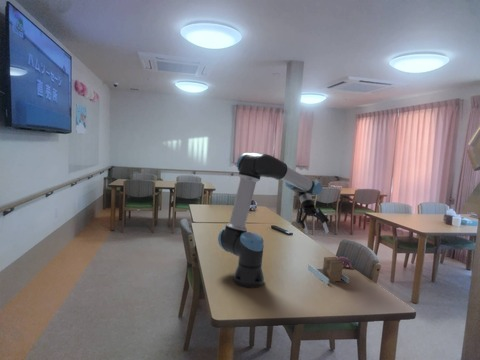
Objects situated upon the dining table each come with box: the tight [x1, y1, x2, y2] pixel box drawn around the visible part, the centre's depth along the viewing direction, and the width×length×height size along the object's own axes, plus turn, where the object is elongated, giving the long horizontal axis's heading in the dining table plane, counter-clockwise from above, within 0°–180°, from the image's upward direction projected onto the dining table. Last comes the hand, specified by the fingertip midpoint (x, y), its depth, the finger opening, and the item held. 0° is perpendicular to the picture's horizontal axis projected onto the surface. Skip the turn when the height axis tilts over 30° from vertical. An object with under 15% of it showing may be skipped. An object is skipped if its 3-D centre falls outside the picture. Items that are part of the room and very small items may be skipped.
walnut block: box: [322, 256, 344, 283], centre depth 163 cm, size 7×7×11 cm
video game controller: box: [335, 256, 353, 270], centre depth 183 cm, size 10×5×7 cm, turn 92°
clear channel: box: [307, 263, 350, 285], centre depth 167 cm, size 20×13×3 cm, turn 17°
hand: (317, 233), depth 178 cm, fingers open, 13 cm apart
